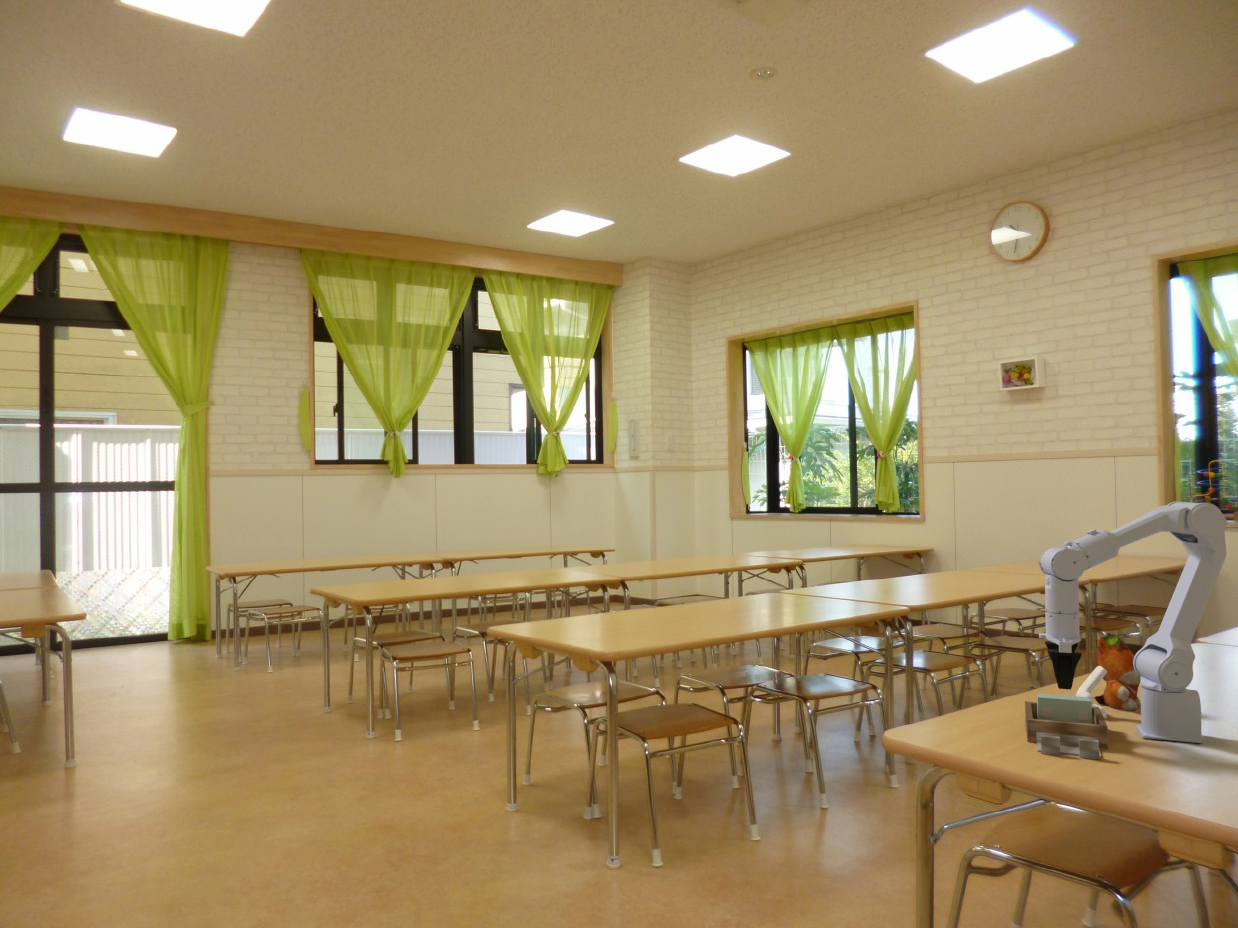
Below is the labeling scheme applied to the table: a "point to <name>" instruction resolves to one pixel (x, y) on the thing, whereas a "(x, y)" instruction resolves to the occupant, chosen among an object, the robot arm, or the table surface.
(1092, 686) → the white vr controller
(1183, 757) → the table surface
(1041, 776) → the table surface
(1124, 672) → the toy
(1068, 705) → the door
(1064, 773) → the table surface
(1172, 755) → the table surface
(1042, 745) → the carcass
